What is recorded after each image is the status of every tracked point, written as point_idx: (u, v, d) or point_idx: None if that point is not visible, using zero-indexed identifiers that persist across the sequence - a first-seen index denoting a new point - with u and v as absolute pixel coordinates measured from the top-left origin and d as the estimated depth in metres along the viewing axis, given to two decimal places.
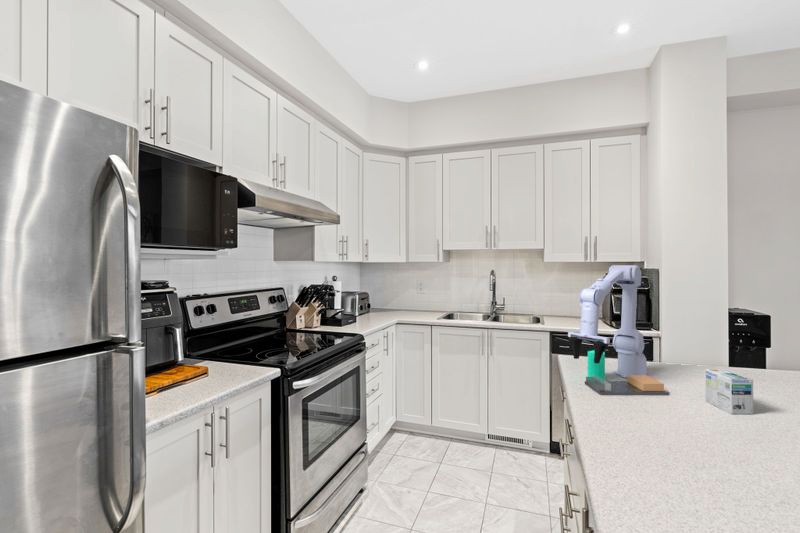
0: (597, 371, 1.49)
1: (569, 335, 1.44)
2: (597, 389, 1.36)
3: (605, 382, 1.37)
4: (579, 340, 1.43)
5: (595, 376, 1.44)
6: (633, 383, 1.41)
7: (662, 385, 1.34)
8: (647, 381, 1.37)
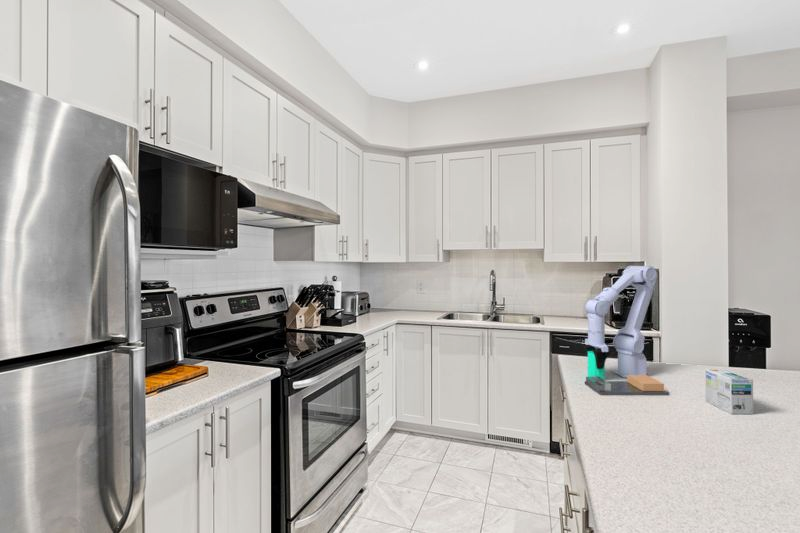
0: (597, 371, 1.49)
1: (585, 342, 1.58)
2: (597, 389, 1.36)
3: (605, 382, 1.37)
4: (594, 347, 1.55)
5: (595, 376, 1.44)
6: (633, 383, 1.41)
7: (662, 385, 1.34)
8: (647, 381, 1.37)
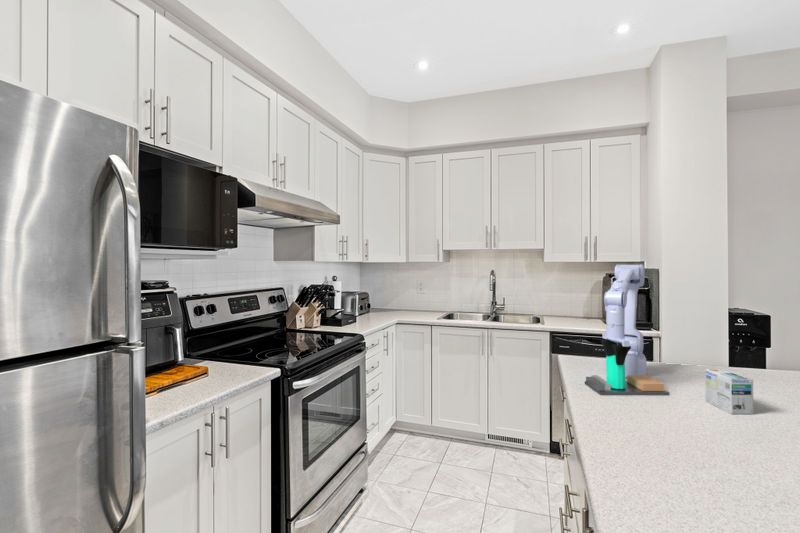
0: (616, 378, 1.37)
1: (603, 336, 1.46)
2: (597, 389, 1.36)
3: (605, 382, 1.37)
4: (613, 342, 1.43)
5: (595, 376, 1.44)
6: (633, 383, 1.41)
7: (662, 385, 1.34)
8: (647, 381, 1.37)
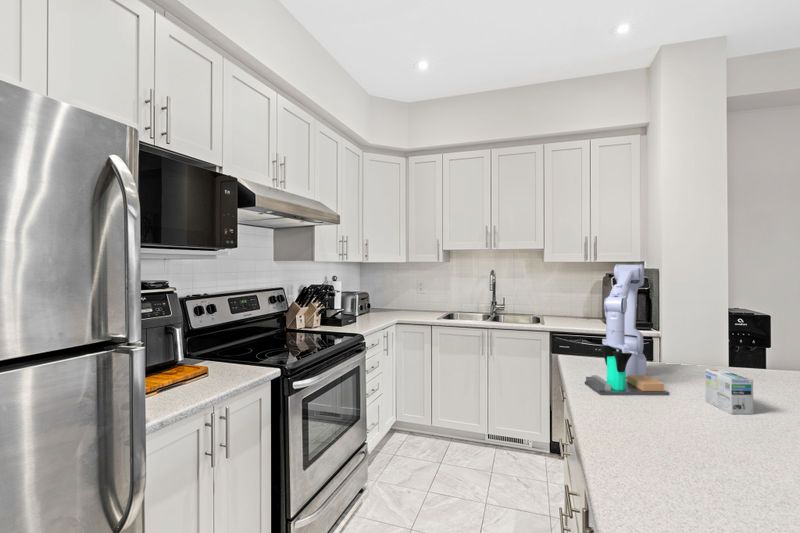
0: (616, 379, 1.36)
1: (603, 342, 1.46)
2: (597, 389, 1.36)
3: (605, 382, 1.37)
4: (612, 347, 1.43)
5: (595, 376, 1.44)
6: (633, 383, 1.41)
7: (662, 385, 1.34)
8: (647, 381, 1.37)
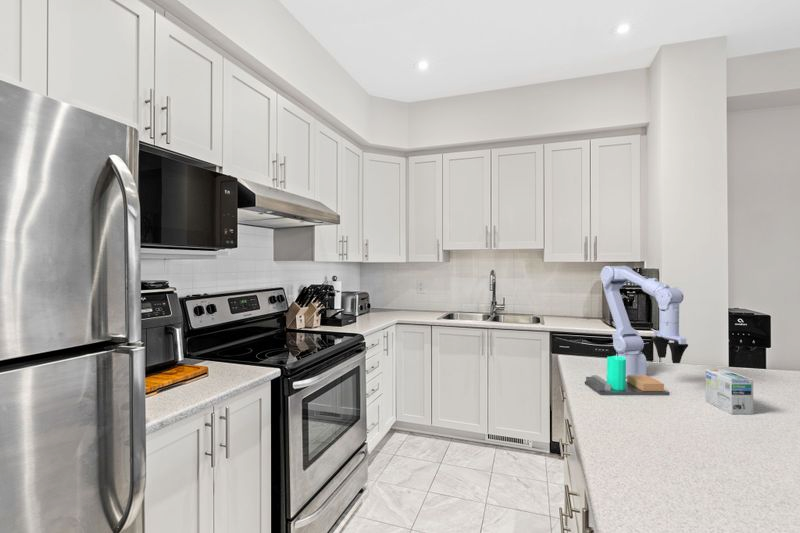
0: (616, 379, 1.36)
1: (654, 334, 1.46)
2: (597, 389, 1.36)
3: (605, 382, 1.37)
4: (664, 339, 1.43)
5: (595, 376, 1.44)
6: (633, 383, 1.41)
7: (662, 385, 1.34)
8: (647, 381, 1.37)
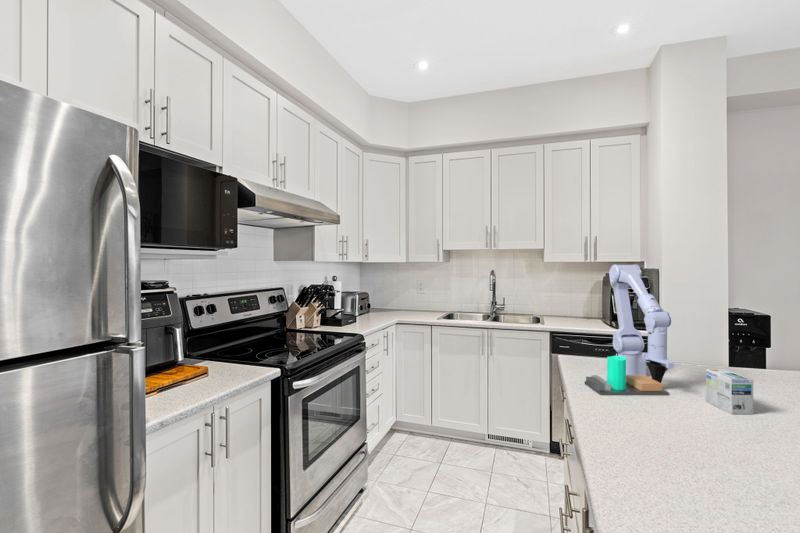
0: (616, 379, 1.36)
1: (643, 356, 1.46)
2: (597, 389, 1.36)
3: (605, 382, 1.37)
4: None
5: (595, 376, 1.44)
6: (631, 383, 1.41)
7: (660, 385, 1.35)
8: (645, 381, 1.37)
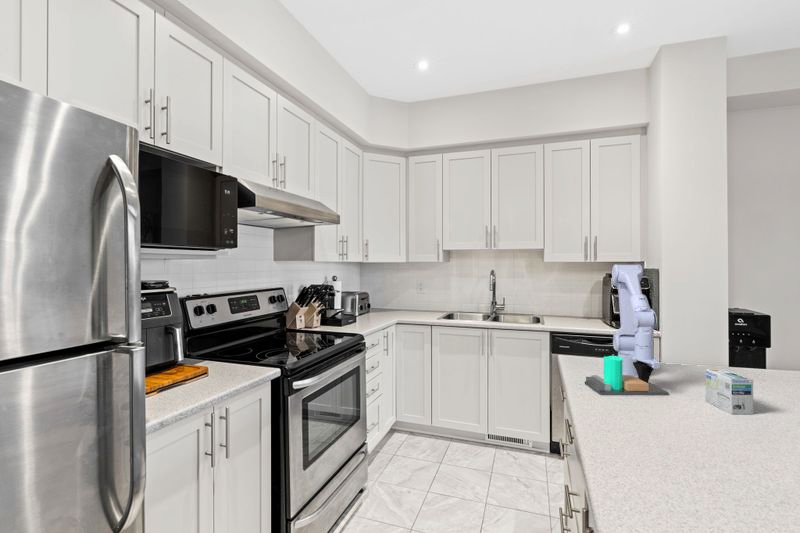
0: (613, 379, 1.36)
1: (630, 356, 1.46)
2: (597, 389, 1.36)
3: (605, 382, 1.37)
4: None
5: (595, 376, 1.44)
6: None
7: (647, 385, 1.35)
8: (632, 381, 1.37)
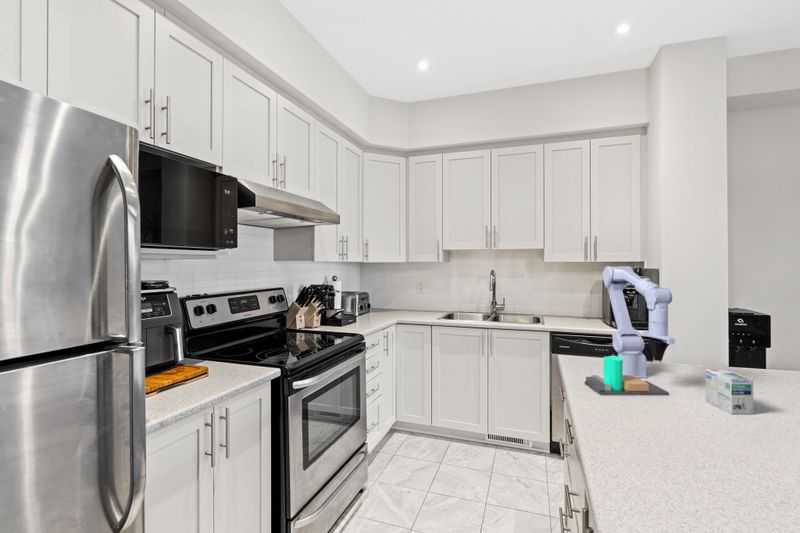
0: (613, 379, 1.36)
1: (644, 334, 1.46)
2: (597, 389, 1.36)
3: (605, 382, 1.37)
4: None
5: (595, 376, 1.44)
6: None
7: (647, 385, 1.35)
8: (632, 381, 1.37)
